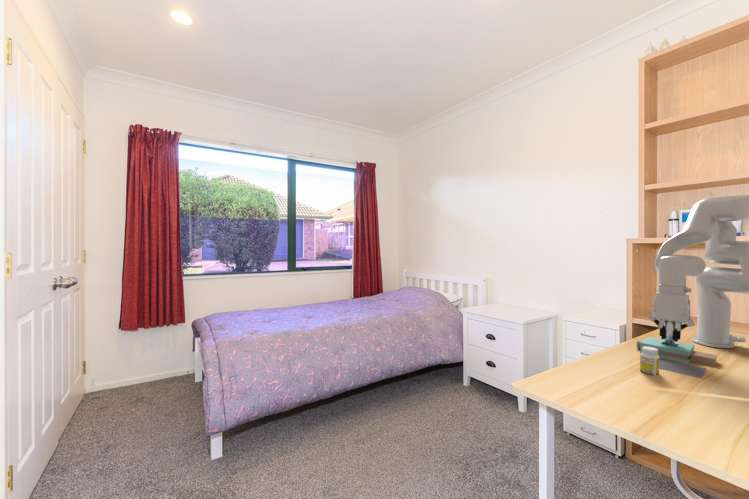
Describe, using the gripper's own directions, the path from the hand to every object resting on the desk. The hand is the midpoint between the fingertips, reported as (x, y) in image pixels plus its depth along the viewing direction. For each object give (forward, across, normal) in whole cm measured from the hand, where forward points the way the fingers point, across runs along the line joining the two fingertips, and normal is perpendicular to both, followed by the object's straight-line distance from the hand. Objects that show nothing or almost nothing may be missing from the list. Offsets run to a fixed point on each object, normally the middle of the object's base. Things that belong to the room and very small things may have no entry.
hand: (669, 339), depth 126 cm
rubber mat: (+6, -4, +13) cm, 16 cm away
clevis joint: (+6, -1, 0) cm, 7 cm away
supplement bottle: (+7, +1, +26) cm, 27 cm away
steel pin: (+3, 0, 0) cm, 3 cm away
